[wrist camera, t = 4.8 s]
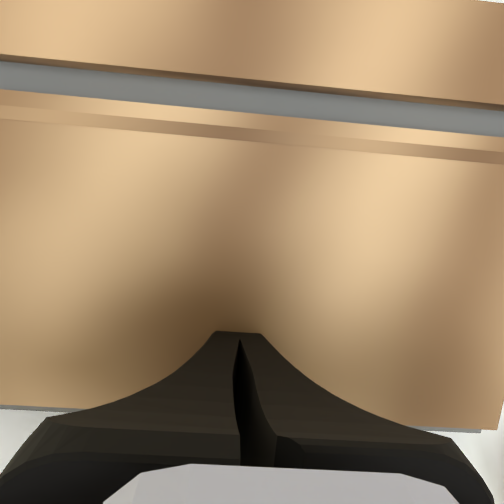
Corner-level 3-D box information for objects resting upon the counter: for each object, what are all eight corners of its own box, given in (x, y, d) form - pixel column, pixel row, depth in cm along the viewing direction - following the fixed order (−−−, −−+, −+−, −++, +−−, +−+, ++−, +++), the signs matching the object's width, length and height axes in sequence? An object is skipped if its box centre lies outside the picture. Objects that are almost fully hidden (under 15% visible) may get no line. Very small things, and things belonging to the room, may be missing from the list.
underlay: (547, 38, 12) (575, 28, 11) (463, 414, 15) (480, 433, 14) (-39, -27, 11) (-66, -45, 10) (-15, 389, 14) (-34, 406, 13)
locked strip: (557, 26, 11) (589, 13, 10) (537, 114, 11) (565, 110, 10) (-44, -43, 10) (-74, -64, 9) (-38, 56, 10) (-66, 47, 9)
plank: (532, 145, 11) (561, 143, 10) (476, 410, 13) (497, 430, 12) (-39, 90, 11) (-67, 82, 10) (-25, 382, 12) (-49, 402, 11)
